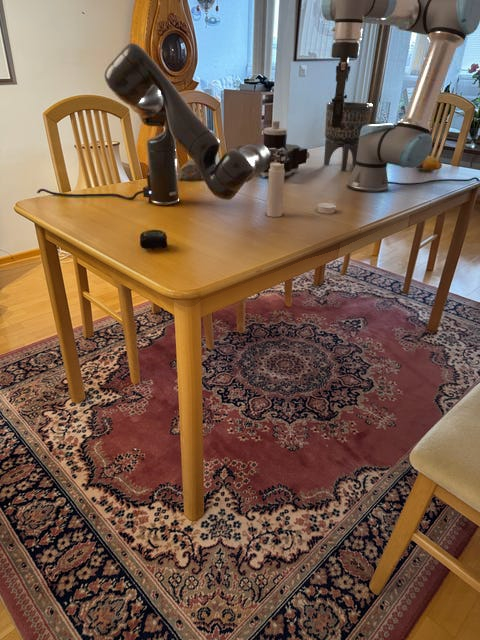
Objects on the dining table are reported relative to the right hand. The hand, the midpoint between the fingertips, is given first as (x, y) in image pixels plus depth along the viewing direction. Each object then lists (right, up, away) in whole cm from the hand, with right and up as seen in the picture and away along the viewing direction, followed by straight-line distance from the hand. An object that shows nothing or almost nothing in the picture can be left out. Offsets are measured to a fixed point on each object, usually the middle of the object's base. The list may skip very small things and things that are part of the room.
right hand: (336, 124), depth 136 cm
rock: (-48, -1, +49) cm, 68 cm away
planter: (+18, +12, +74) cm, 78 cm away
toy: (+57, +10, +73) cm, 93 cm away
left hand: (-21, -12, -12) cm, 27 cm away
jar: (-18, -25, +9) cm, 32 cm away
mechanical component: (-12, +5, +60) cm, 62 cm away
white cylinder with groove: (-1, -22, +12) cm, 25 cm away
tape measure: (-51, -40, -19) cm, 68 cm away
